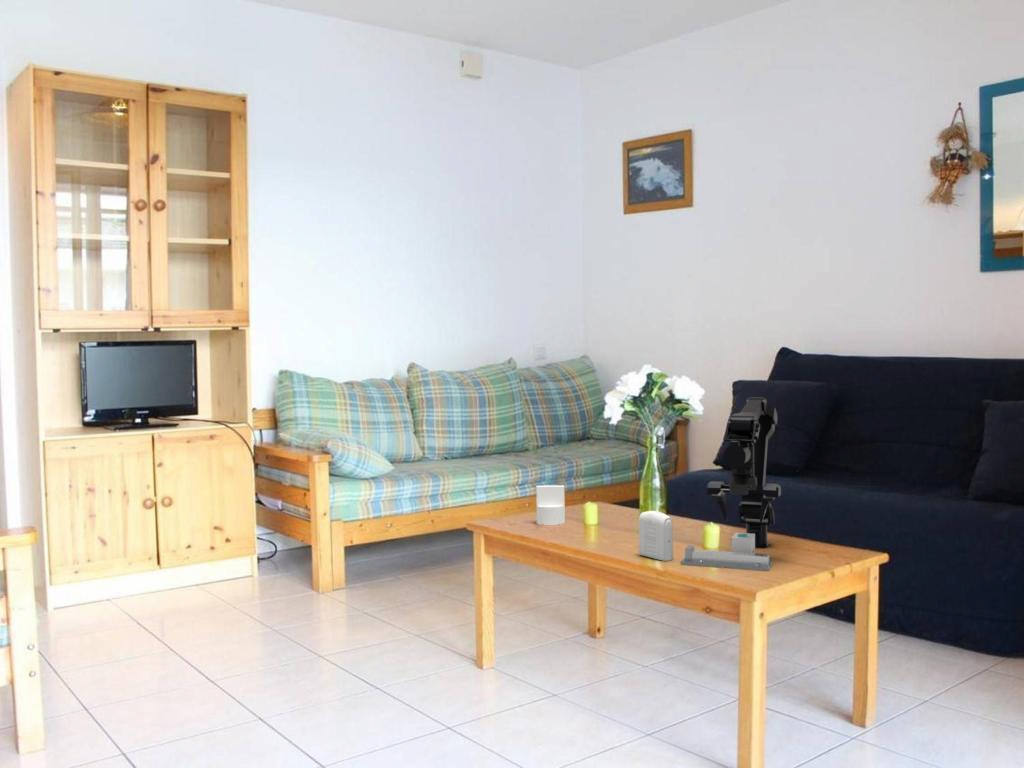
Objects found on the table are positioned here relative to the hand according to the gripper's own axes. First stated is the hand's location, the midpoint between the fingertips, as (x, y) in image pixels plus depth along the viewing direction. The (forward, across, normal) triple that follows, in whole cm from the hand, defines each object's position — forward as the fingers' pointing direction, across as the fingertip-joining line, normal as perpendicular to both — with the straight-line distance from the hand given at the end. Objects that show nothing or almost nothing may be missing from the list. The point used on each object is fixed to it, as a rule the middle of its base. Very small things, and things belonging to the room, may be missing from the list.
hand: (743, 521), depth 255 cm
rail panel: (+10, -3, -9) cm, 13 cm away
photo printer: (+10, -22, -7) cm, 25 cm away
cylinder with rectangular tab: (+10, -65, +30) cm, 72 cm away
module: (+10, 0, 0) cm, 10 cm away
